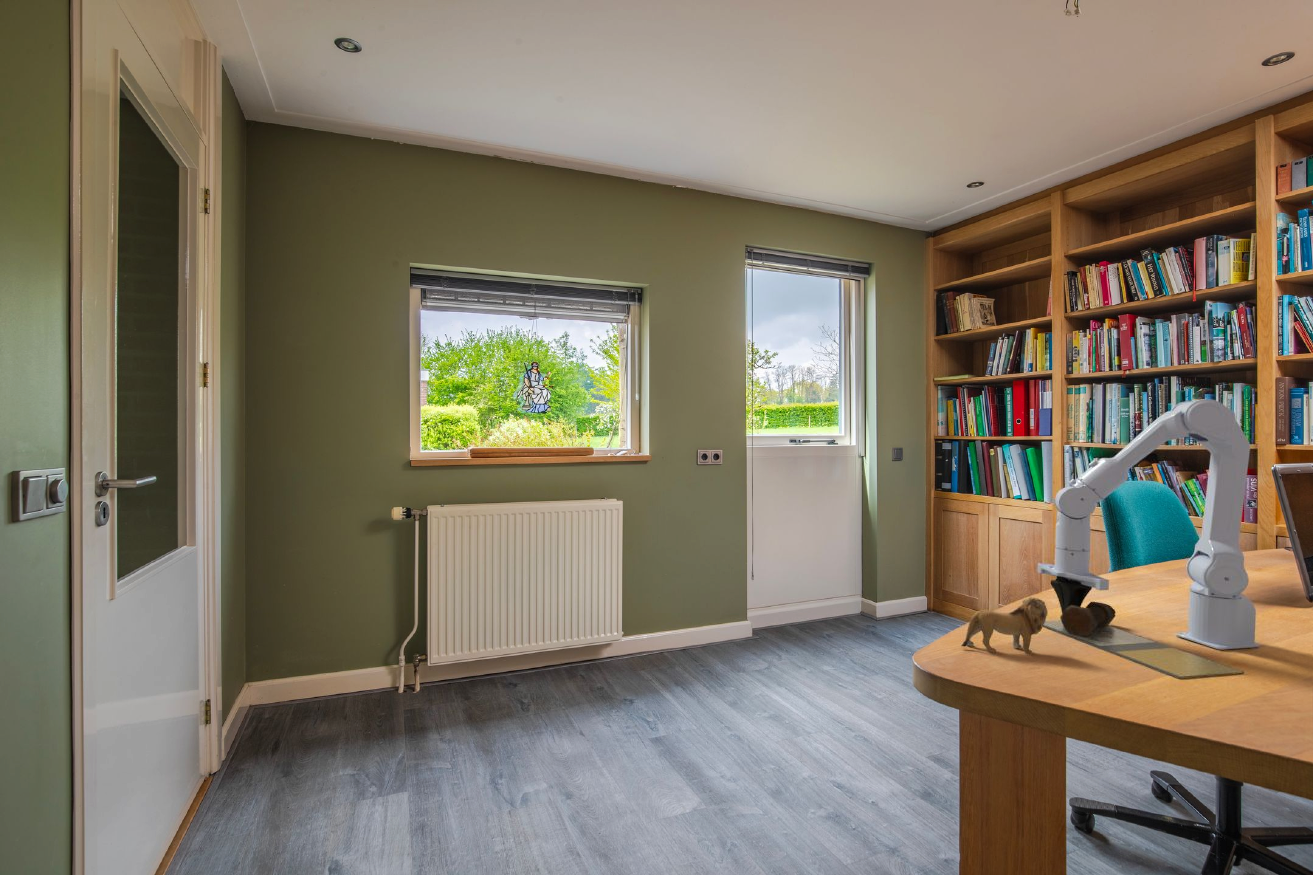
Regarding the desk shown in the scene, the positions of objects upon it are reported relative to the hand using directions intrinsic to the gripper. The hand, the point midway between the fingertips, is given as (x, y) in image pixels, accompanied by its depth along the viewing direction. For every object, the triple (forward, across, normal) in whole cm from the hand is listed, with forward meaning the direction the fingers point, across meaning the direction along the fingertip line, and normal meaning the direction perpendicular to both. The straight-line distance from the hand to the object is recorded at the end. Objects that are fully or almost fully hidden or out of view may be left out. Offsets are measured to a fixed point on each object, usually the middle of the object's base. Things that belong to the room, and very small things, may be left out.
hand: (1069, 617), depth 127 cm
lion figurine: (+2, +10, -23) cm, 25 cm away
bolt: (+1, +4, +1) cm, 4 cm away
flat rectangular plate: (+1, +12, 0) cm, 12 cm away
